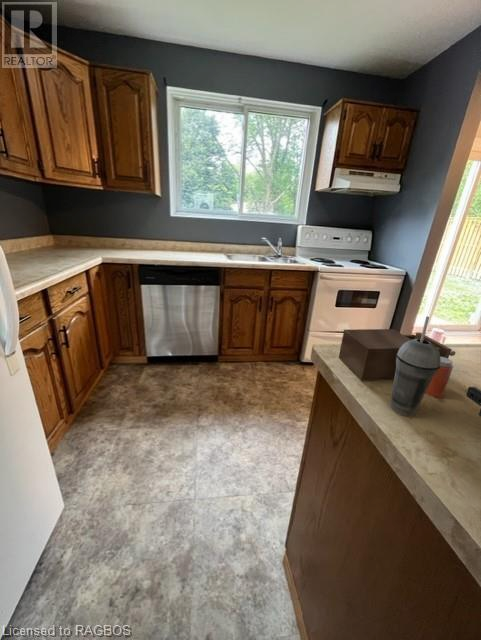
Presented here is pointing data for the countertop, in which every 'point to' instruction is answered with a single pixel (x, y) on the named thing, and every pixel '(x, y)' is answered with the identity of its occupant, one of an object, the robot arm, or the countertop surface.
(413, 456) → the countertop surface
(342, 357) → the dark brown wooden box
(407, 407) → the beverage cup
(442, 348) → the dark brown angular piece
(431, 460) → the countertop surface
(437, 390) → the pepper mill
